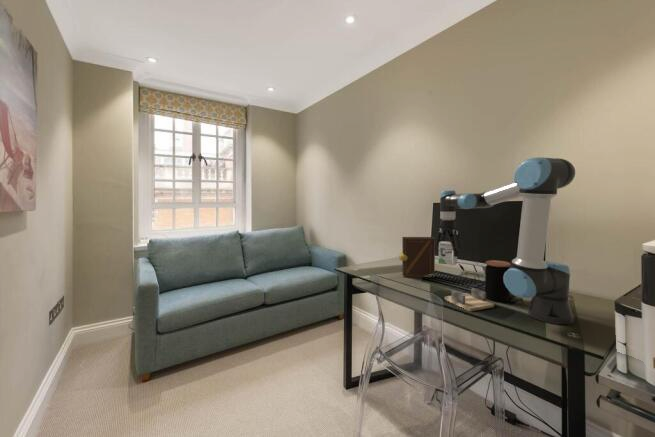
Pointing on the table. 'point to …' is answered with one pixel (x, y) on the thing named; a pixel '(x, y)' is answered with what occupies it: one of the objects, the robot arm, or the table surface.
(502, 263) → the coffee jar
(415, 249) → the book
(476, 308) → the clip stand
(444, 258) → the ink box
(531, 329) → the table surface
